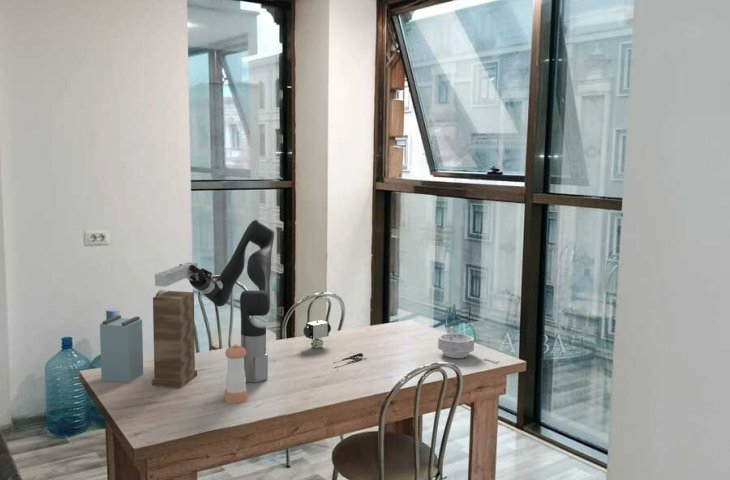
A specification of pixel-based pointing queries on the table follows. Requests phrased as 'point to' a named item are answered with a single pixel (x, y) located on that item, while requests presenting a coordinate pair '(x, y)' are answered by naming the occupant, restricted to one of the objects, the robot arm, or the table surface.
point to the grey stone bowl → (456, 345)
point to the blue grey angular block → (121, 349)
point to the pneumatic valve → (317, 332)
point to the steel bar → (174, 274)
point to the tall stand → (173, 339)
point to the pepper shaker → (235, 375)
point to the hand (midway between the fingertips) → (185, 266)
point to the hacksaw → (355, 358)
